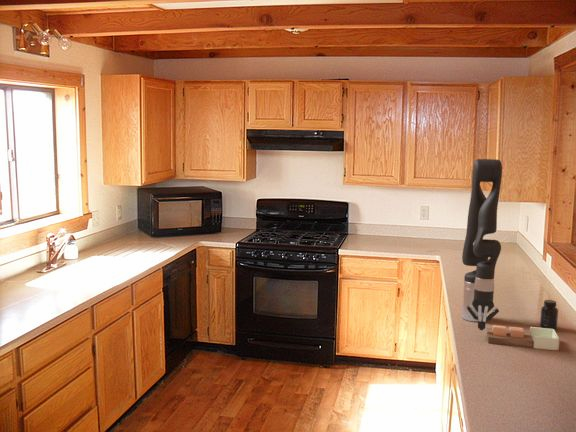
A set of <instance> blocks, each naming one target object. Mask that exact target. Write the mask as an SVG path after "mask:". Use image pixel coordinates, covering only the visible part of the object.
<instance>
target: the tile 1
mask: <svg viewBox="0 0 576 432" xmlns="http://www.w3.org/2000/svg"><path fill="white" fill-rule="evenodd" d="M491 329H492V332H493V335H497V336H506V333H507V327H506V326H505V325H504V326H503V325H494V324H493V325H492V328H491Z"/></svg>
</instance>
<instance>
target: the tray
mask: <svg viewBox="0 0 576 432" xmlns="http://www.w3.org/2000/svg"><path fill="white" fill-rule="evenodd" d="M529 332H530V333H531V336H532V338H533V340H534V347H533V349H539V350H549V351H559V348H560V337H559V336H558V334H557V333H556V330H554V329H548V328H541V327H534V326H530V327H529Z"/></svg>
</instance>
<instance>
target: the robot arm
mask: <svg viewBox="0 0 576 432" xmlns="http://www.w3.org/2000/svg"><path fill="white" fill-rule="evenodd" d="M502 176H503V165H502V161H501V160H500V159H496V158H495V159H494V158H492V159H491V158H490V159H489V158H477V159H475V161H474V162H473V167H472V175H471V177H472V178H471V193H470V200H469V207H468V212H467V213H468V215H467V220H466V221H467V222H466V224H467V225H466V232H465V239H464V243H463V249H462V253H461V254H462V256H461V257H462V258H461V260H462V264H463V265H465V266H468V267H476V269H475V270H472V271H468V272H466V273H465V274H464V279H463V280H464V281H463V296H462V297H463V298H462V307H461V309H462V310H461V318H462V320H465V321H469V322H477V329H479V331H484V330H485V329H486V324H487V323H486V322H489V321H491V320H492V319H494V317H495V316H496V315H497V314H498V313H499V312H500V310H499V308H498V307H497V306H496V305H495V303H494V296H495V294H494V293H495V292H494V291H495V271H496V266H497V261H498V259H499V256H500V254H501V252H502V245H501V243H500V241H499V240H498V239H488V238H487V239H486V238H485V239H484V237H485V236H486V235H492V234H495V233H496V232H497V230H498V229H497V228H498V226H497V225H498V221H497V219H498V205H499V200H500V199H499V198H500V194H501V193H500V192H501V186H502V185H501V184H502ZM481 183H492V185H491V189H490V192H489V194H488V196H487V197H486V195H485V194H484V192H483V189H482V188H481ZM489 312H490V313H489ZM488 313H489V314H488Z"/></svg>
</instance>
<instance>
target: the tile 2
mask: <svg viewBox="0 0 576 432" xmlns="http://www.w3.org/2000/svg"><path fill="white" fill-rule="evenodd" d="M508 330H509V334H510V337H518V338H524V332H525V331H524V328H523V327H518V326H509V328H508Z"/></svg>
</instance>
